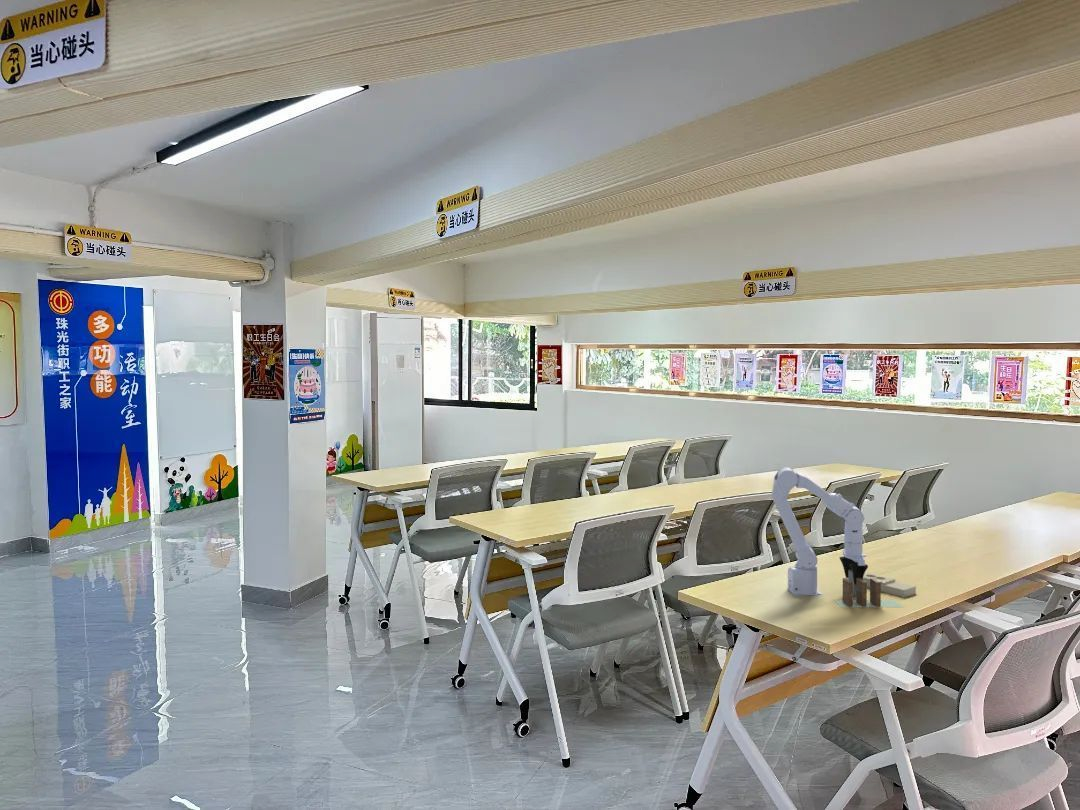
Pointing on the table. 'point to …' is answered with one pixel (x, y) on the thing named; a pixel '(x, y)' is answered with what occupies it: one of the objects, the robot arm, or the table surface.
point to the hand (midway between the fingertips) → (853, 580)
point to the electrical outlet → (891, 585)
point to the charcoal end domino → (850, 577)
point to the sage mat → (883, 603)
